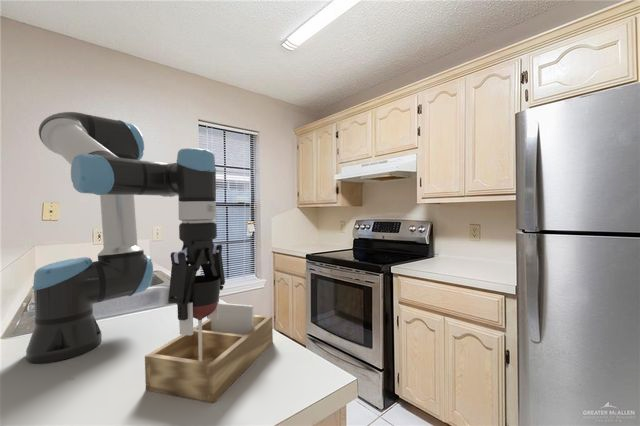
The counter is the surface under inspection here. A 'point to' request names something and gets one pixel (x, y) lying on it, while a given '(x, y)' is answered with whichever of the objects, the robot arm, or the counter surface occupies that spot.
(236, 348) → the wooden divided tray
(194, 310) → the wineglass
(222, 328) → the white flat panel
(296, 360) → the counter surface
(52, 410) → the counter surface
